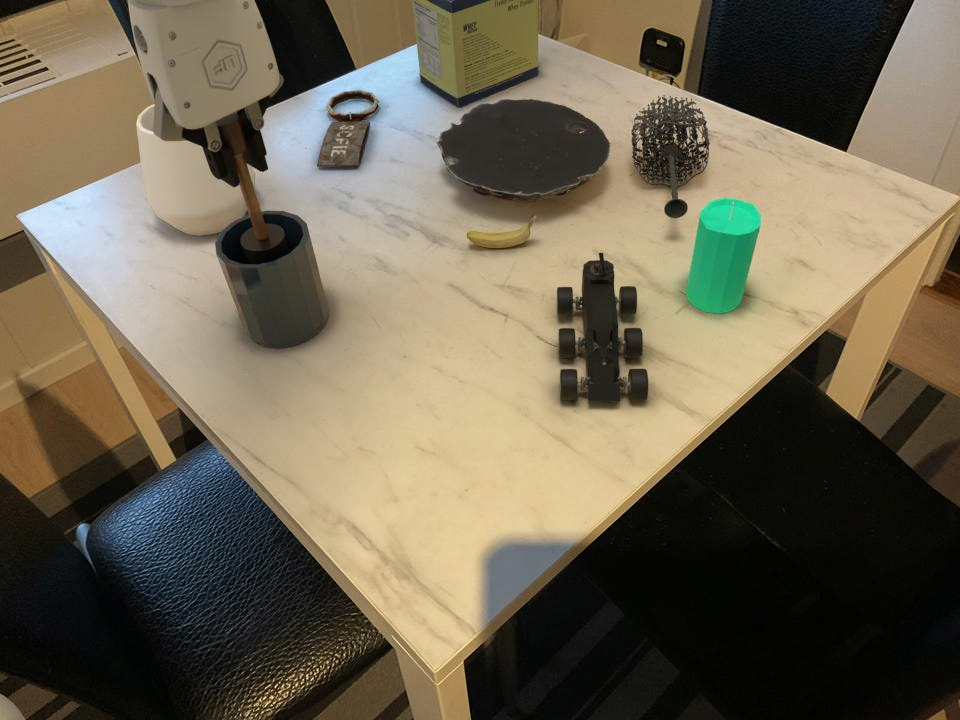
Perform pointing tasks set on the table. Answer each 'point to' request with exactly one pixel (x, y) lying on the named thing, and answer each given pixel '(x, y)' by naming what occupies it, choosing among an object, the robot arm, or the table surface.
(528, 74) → the protein box
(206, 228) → the cup
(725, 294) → the candle
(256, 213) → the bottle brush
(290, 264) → the container
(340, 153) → the keychain
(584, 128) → the board
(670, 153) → the massage brush
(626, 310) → the toy vehicle
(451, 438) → the table surface
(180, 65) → the robot arm
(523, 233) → the banana
